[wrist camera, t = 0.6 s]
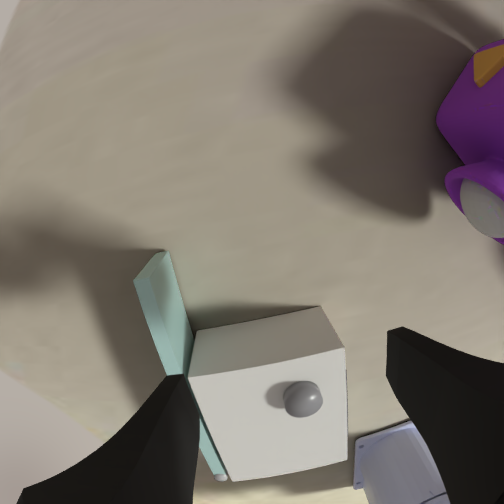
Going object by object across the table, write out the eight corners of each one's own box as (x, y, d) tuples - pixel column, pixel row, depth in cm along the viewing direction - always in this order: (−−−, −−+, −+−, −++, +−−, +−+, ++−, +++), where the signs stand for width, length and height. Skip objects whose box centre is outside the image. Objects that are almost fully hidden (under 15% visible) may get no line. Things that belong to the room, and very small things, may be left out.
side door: (228, 434, 23) (228, 480, 18) (214, 436, 23) (212, 482, 18) (169, 249, 18) (149, 278, 14) (151, 253, 18) (126, 282, 14)
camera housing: (333, 421, 23) (352, 474, 17) (234, 441, 23) (236, 496, 17) (323, 305, 20) (353, 354, 14) (197, 330, 20) (185, 387, 14)
